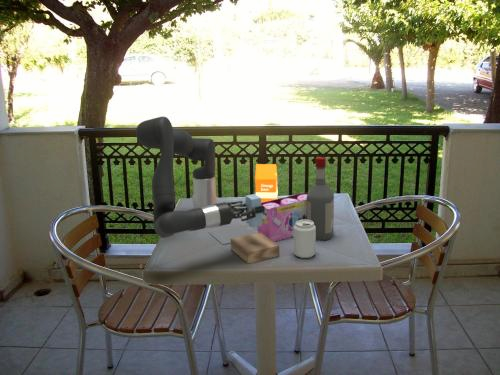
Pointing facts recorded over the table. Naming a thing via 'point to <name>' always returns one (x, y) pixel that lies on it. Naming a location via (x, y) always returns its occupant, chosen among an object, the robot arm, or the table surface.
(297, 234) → the can
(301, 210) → the gum box
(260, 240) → the wooden slab
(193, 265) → the table surface
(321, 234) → the liquor
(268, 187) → the orange juice
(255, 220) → the block
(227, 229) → the mat
